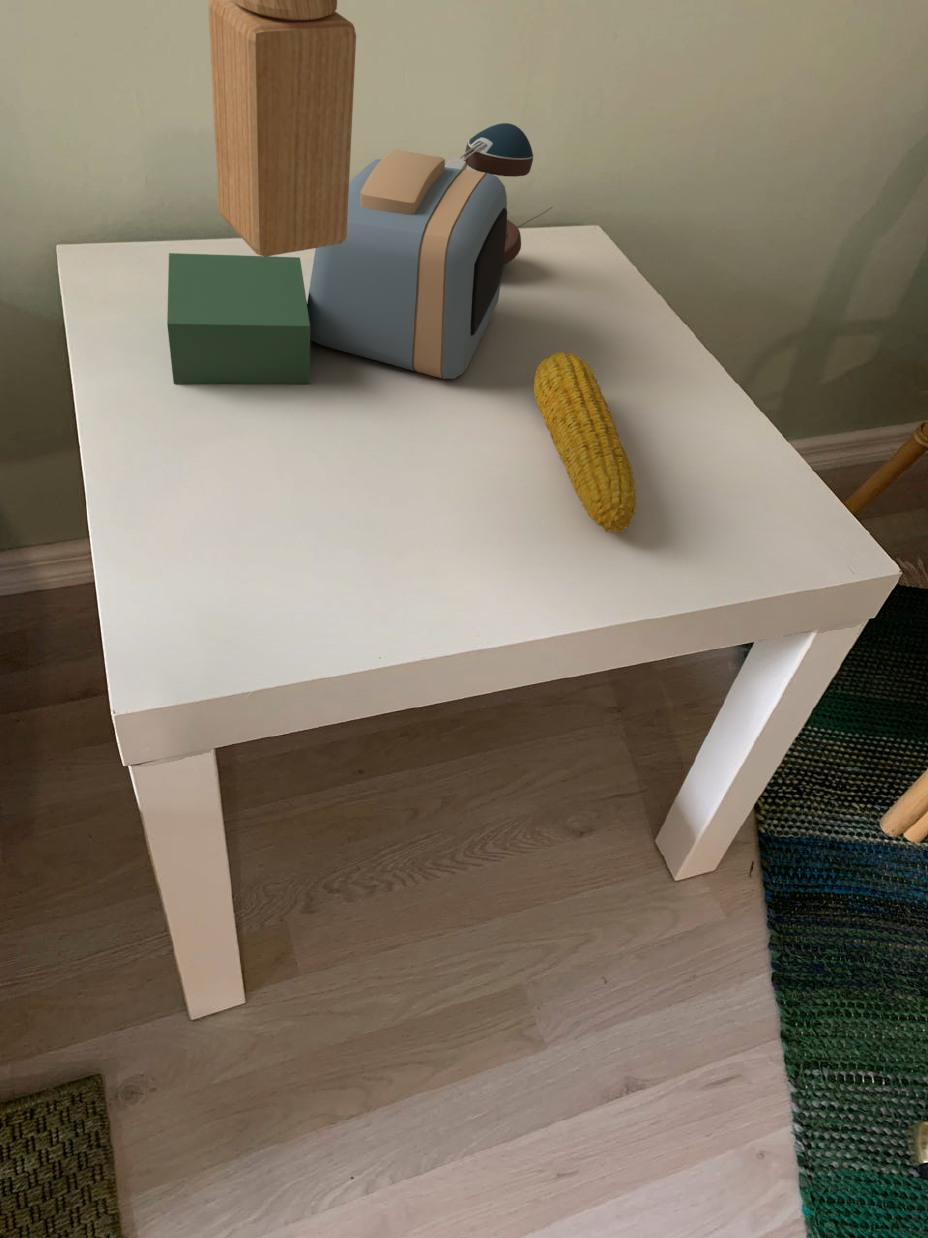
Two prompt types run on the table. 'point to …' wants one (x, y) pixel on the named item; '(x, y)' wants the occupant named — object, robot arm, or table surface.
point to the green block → (237, 320)
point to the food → (586, 439)
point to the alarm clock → (412, 265)
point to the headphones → (499, 166)
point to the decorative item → (282, 120)
